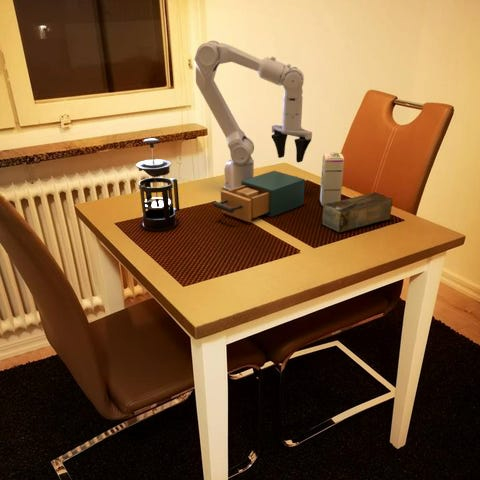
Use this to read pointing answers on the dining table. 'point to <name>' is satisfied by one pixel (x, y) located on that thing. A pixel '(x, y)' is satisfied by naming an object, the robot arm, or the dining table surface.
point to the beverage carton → (357, 212)
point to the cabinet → (279, 190)
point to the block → (247, 193)
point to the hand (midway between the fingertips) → (290, 159)
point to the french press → (157, 208)
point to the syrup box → (331, 178)
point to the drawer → (244, 203)
